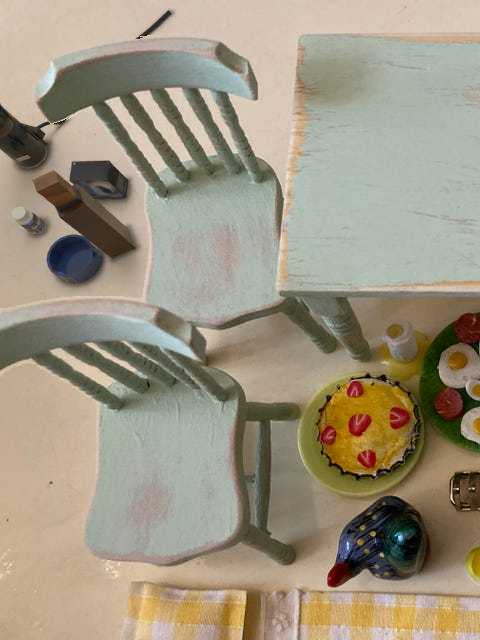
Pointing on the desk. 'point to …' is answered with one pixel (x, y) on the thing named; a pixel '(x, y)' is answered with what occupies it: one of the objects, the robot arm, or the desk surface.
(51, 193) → the reddish-brown short block
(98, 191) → the small box
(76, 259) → the bowl
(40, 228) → the pill bottle
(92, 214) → the brown rectangular block
